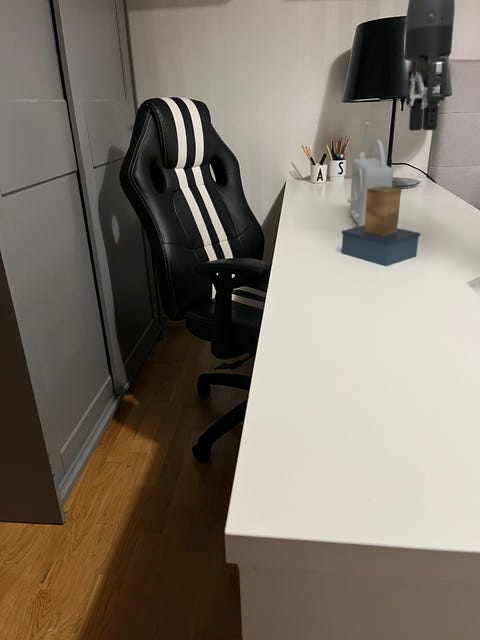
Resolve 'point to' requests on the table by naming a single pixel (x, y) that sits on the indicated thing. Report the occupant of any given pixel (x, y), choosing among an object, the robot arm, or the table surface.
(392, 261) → the storage box
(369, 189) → the brown wooden block
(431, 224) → the table surface
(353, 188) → the radio
